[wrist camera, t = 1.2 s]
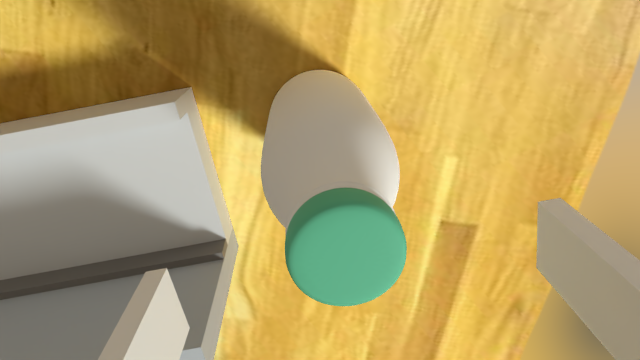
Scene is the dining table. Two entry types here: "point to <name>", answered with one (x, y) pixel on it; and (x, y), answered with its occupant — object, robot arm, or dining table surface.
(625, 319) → the robot arm
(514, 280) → the dining table surface
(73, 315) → the board
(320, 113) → the milk bottle
